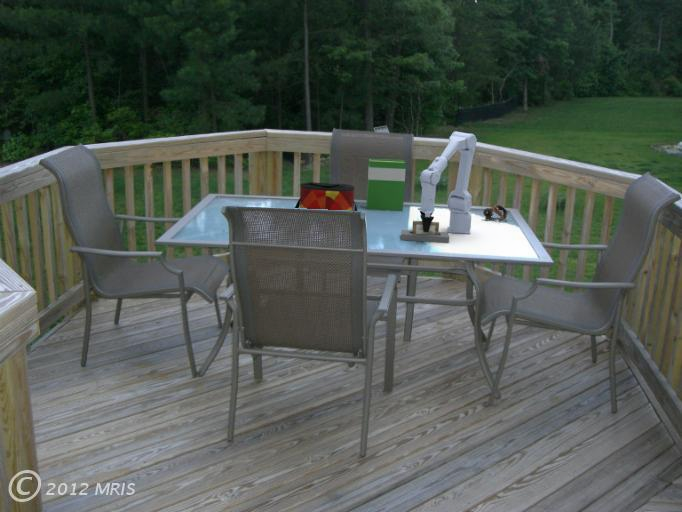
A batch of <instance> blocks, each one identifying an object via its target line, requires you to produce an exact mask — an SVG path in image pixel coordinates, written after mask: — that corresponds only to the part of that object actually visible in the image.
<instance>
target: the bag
mask: <svg viewBox="0 0 682 512" xmlns="http://www.w3.org/2000/svg"><path fill="white" fill-rule="evenodd" d="M299 194H300V196H299V199H298V201H297V202H296V204H295V206H294V208H299V209H300V208H307V209H328V210H349V211H353V212H354V211H357V212H358V206H357V205H356V204H357V203H356V202H355V186H354V185H351V184H346V183H343V184H342V183H341V184H340V183H326V182H313V181H309V182H302V183H301V184H300V193H299Z"/></svg>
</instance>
